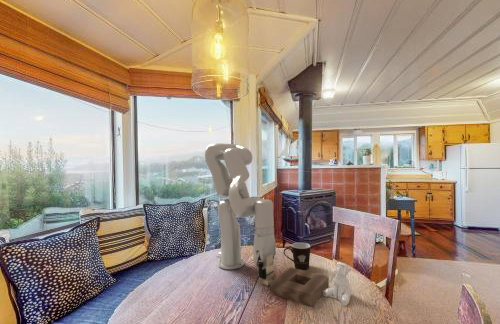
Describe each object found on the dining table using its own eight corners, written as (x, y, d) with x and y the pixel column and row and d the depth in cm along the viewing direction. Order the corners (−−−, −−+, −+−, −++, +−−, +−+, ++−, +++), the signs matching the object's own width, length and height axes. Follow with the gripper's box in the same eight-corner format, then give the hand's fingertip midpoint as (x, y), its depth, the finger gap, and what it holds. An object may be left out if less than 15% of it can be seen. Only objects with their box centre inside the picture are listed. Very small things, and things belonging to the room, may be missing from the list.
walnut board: (270, 293, 91) (270, 282, 91) (291, 276, 104) (290, 267, 104) (311, 307, 81) (311, 294, 81) (328, 287, 94) (328, 276, 94)
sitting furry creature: (321, 295, 88) (320, 262, 88) (335, 287, 93) (334, 256, 94) (345, 307, 81) (344, 270, 81) (359, 298, 86) (358, 263, 86)
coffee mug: (313, 265, 114) (313, 244, 114) (307, 272, 107) (306, 249, 107) (290, 261, 120) (289, 240, 121) (283, 267, 113) (282, 245, 113)
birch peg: (258, 283, 99) (257, 254, 99) (264, 279, 102) (263, 251, 103) (267, 286, 96) (266, 256, 96) (274, 281, 100) (273, 253, 100)
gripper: (268, 224, 109) (269, 266, 108) (244, 234, 95) (245, 281, 95) (283, 227, 104) (284, 270, 104) (260, 236, 91) (261, 286, 90)
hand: (266, 275), depth 99 cm, fingers closed on birch peg, 4 cm apart
